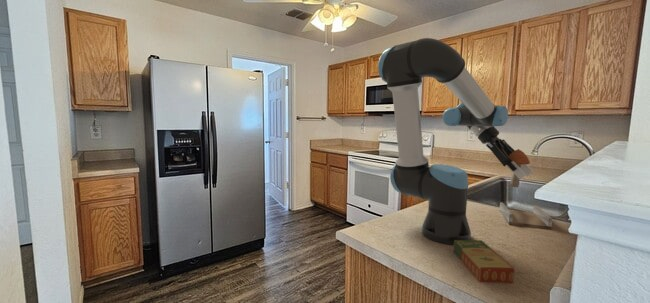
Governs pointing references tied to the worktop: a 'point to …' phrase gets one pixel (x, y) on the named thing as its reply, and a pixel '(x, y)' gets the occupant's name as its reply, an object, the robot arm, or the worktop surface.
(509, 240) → the worktop surface
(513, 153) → the mushroom
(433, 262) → the worktop surface
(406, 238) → the worktop surface
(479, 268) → the carton
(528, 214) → the track
